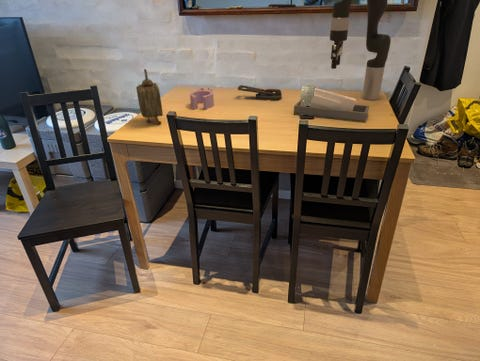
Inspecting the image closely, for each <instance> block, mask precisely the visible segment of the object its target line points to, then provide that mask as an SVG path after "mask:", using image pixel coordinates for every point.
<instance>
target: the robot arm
mask: <svg viewBox="0 0 480 361" xmlns="http://www.w3.org/2000/svg"><path fill="white" fill-rule="evenodd" d="M352 2H353V0H341V1H337V2H335V3H334V4H333V6H332V13H331V14H332V16H331V22H330V31H329V32H330V33H329V40H330V41H331V42H333V44H331V50H330V51H331V52H330V60H331V63H330V64H331V65H330V69H331V70H335V69H337V66H340V64H341V57H342V55H343V46H344V41H347V40H348V34H349V27H350V26H349V24H350V22H349V21H350V20H349V19H350V11H351V6H352ZM366 4H367V5H366V9H367V10H366V11H367V20H366V23H367V25H366V26H367V28H366V39H365V41H366V42H365V47H366V50H367V51H368V52H369V53H376V56H375V57H374V58H370V59H368V60H367V61H366V66H365V72H364V73H365V74H364V80H363V87H362V92H361V93H362V94H361V98H362V99H363V100H367V101H376V100H379V99H380V97H381V90H382V83H383V79H384V78H383V77H384V72H385V66H386V63H387V60H388V56H389V52H390V47H391V37H390V35H389V34H384V33H379V32H378V28H379V23H380V21H381V19H382V18H383V15H384V14H385V11H386V10H387V7H388V0H366Z"/></svg>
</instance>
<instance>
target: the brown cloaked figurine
mask: <svg viewBox="0 0 480 361" xmlns="http://www.w3.org/2000/svg"><path fill="white" fill-rule="evenodd" d="M143 71H144V72H143V73H144V78H145V79H143V80H142V83H141V84H139V85H137V86H136V88H135V89H136V94H137V100H138V106H139V111H140V114H141V116H142V117H143V118H147V119H146V122H147V123H150V122H151V120H150V118H154V119H156V121H157V124H158V125H162V121H161V120H159V117H163V116H164V115H163V107H162V106H163V105H162V100H161V94H160V93H161V92H160V88H159V86H158V84H157V83H156V82H153V81H152V80H151V79H149V78H148V76H149V75H148V72H147V69H146V68H144V69H143Z"/></svg>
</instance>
